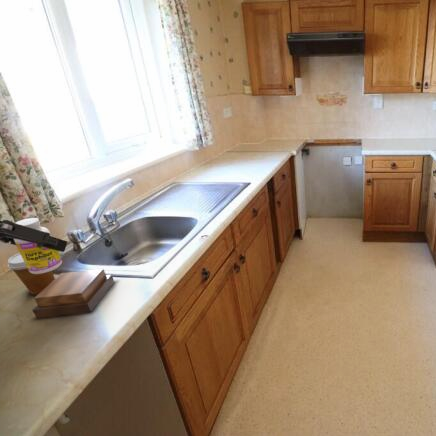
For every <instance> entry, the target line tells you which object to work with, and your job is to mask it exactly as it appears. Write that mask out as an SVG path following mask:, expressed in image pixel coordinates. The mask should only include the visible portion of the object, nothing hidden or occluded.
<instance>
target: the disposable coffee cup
mask: <svg viewBox="0 0 436 436" xmlns="http://www.w3.org/2000/svg"><path fill="white" fill-rule="evenodd" d="M7 268H9V269H10V270H12V271H13V272H14V273H15V275H16V276H17V277H18V278H19V280H20V282H22V284H23V285H24V286H25V288H26V289H27V290H28V291H29V292H30V294H31V295H38V294H39V293H40V292H41V291H43V290H44V289H45V288H46V287H47V286H48V285H49V284H50V283H51V282H52V281H53V280H54V279H56V277H55V275H54V272H53V271H54V270H52V271H49V272H46V273H41V274H33V273H30V272H29V270H28V268H27V266H26V264H25V262H24V260H23V258H22V256H21V254H20V252H18V253H16V254H14V255H12V256H10V257H9V258H8V260H7Z"/></svg>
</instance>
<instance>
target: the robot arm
mask: <svg viewBox="0 0 436 436" xmlns="http://www.w3.org/2000/svg"><path fill="white" fill-rule="evenodd" d="M50 234H51V232H50V233H47V232H43V231H40V230H36V229H33V228H29V227H26V226H23V225H19V224H16V222H14V221H11V220H9V219H3V220H0V242H1V243H4V244H10V245H13V246H16V244H15V241H14V239H18V240H22V241H27V242H32V243H36V244H37V247H40V248H41V247H42V246H43V247H46V248H50V249H54V250H57V251H58V252H63V253H65V250H66V248H67V245H68V242H69V241H67V240H65V239H60V238H57V237H56V236H52V235H51V236H50Z"/></svg>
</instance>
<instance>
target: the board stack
mask: <svg viewBox="0 0 436 436" xmlns="http://www.w3.org/2000/svg"><path fill="white" fill-rule="evenodd" d="M114 284H115V280H114V277H113V275H112V274H107V273H106V272H105V269H104V268H98V269H88V270H77V271H68V272H61V273H59V275H58V276H57V277H55V279H54V280H53V281H52V282H51V283H50V284H49V285H48V286H47V287H46V288H45V289H44V290H43V291H41V292H40V293H39V294H36V296H35V297H34V298H33V299H34V301H35V303H36V304H37V305H36V306H34V307H33V308H32V312H33V314H34V316H35V317H36V319H42V318H52V317H61V316H71V315H79V314H89V313H92V312H93V311H94V310H95V308H96V307H97V305H98V304H99V303H100V302H101V301H102V299H103V298H104V296H105V295H106V294H107V293H108V292H109V290H110V289H111V288H112V287H113V285H114Z"/></svg>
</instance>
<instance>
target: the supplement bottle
mask: <svg viewBox="0 0 436 436" xmlns="http://www.w3.org/2000/svg"><path fill="white" fill-rule="evenodd" d="M15 223H16V224H19V225H23V226H26V227H29V228H33V229H36V230H40V231H43V232H47V233H50V236H52V234H51V232H50V230H49V228H47V227H45V226H41V221H40V219H39V218H38V217H28V218H25V219H21V220H18V221H15ZM14 241H15V244H16V245H15V246H16V248H17V250H18V253H20V254H21V256H22V258H23V260H24V262H25V264H26V266H27V268H28V270H29V272H30V273H33V274H41V273H46V272H49V271H54V270H57V269H58V268H59V267H60V266H61V265H62V264H63V259H62V257H61V255H60V253H59V252H60V251H57V250H54V249H50V248H46V247H43V246H42V247H41V248H40V247H37V244H36V243H32V242H27V241H22V240H18V239H14Z"/></svg>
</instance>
